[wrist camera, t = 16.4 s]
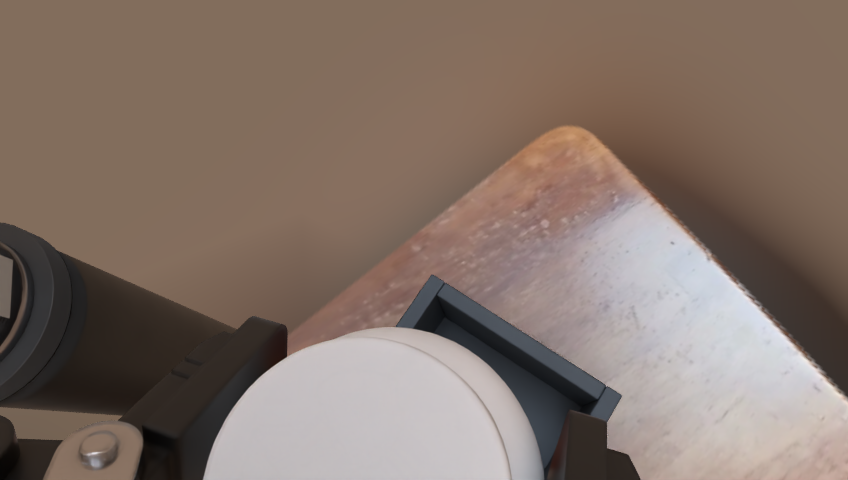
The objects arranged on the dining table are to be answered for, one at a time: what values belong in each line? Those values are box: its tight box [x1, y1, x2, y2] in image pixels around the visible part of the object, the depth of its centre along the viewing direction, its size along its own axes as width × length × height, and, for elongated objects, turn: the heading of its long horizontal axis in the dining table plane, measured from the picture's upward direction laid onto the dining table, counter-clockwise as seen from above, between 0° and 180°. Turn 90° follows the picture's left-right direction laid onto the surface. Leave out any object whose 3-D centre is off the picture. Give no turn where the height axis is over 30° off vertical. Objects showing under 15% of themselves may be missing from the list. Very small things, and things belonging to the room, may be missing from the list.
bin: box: [396, 275, 622, 480], centre depth 30 cm, size 11×11×6 cm
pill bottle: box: [203, 327, 544, 480], centre depth 14 cm, size 6×6×11 cm
